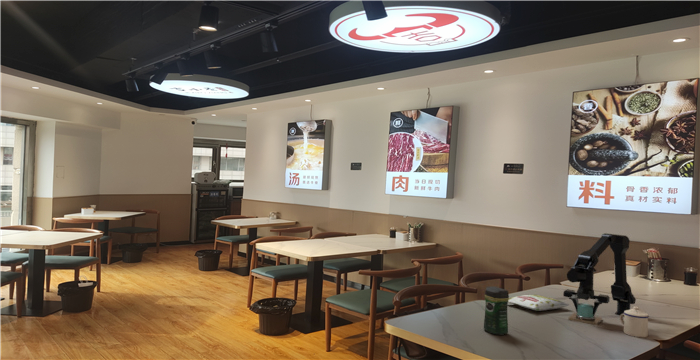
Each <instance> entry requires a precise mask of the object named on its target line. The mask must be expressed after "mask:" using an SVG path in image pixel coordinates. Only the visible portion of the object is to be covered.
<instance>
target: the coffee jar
mask: <svg viewBox="0 0 700 360" xmlns="http://www.w3.org/2000/svg"><path fill="white" fill-rule="evenodd" d="M484 291H485V292H484V300H485V307H484V308H485V310H484V320H483V330H484V331H485V330H486V332H488V333H490V334H493V335H500V336H503V335H504V334H505V335H506V334H508V333H509V322H508V320H509V319H508V303H509V302H508V300H509V298H510V296H509V295H510V294H509V291H508V290H507V289H504V288H500V287H498V286H492V285H491V286H486V288H485V290H484Z"/></svg>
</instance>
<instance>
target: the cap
mask: <svg viewBox="0 0 700 360" xmlns="http://www.w3.org/2000/svg"><path fill="white" fill-rule="evenodd" d="M593 309H594V304H590V303H585V302H584V303H582V302H578V308H577V312H576V313H577V315H579V316H582V317H587V318H593V317H594V316H595V315H594V316H593Z"/></svg>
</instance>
